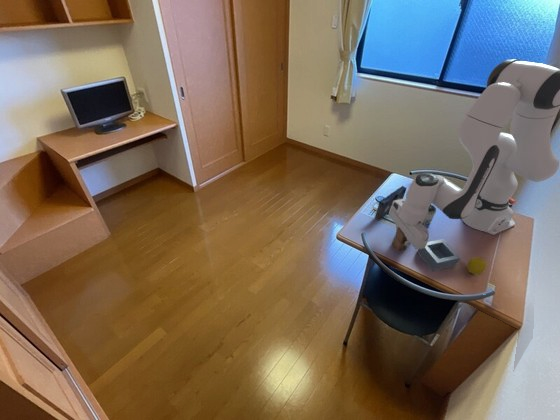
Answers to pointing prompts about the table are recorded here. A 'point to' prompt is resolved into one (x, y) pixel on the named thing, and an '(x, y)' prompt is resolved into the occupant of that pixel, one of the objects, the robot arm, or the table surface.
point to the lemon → (476, 265)
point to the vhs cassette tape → (389, 202)
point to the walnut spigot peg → (399, 240)
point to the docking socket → (439, 255)
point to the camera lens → (429, 215)
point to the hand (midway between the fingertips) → (401, 239)
